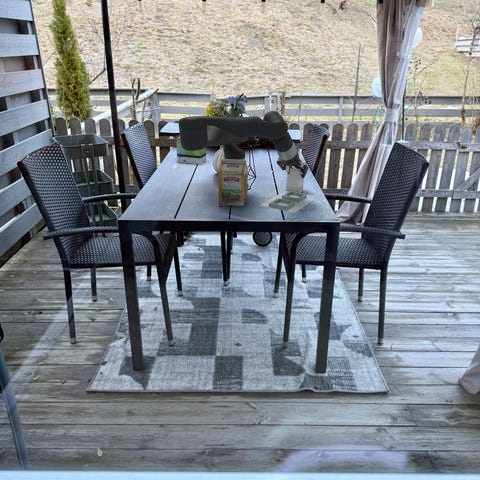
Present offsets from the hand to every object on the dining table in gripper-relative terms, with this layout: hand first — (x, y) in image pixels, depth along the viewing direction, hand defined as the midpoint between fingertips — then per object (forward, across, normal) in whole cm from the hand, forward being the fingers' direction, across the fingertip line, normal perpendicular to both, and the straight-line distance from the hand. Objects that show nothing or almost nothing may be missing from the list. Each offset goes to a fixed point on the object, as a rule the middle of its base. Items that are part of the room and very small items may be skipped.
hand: (297, 175), depth 179 cm
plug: (+2, 0, -4) cm, 5 cm away
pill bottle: (+17, -7, +1) cm, 18 cm away
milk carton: (-5, -20, -22) cm, 30 cm away
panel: (+3, 0, -13) cm, 13 cm away
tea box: (+30, -83, +15) cm, 89 cm away
